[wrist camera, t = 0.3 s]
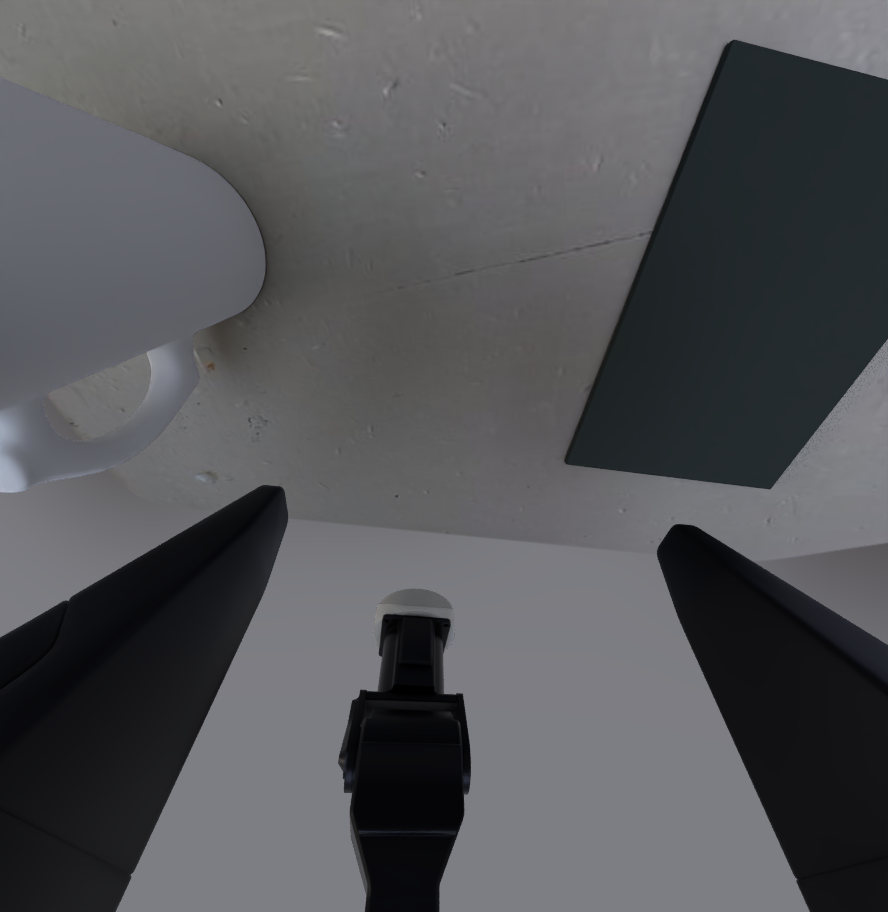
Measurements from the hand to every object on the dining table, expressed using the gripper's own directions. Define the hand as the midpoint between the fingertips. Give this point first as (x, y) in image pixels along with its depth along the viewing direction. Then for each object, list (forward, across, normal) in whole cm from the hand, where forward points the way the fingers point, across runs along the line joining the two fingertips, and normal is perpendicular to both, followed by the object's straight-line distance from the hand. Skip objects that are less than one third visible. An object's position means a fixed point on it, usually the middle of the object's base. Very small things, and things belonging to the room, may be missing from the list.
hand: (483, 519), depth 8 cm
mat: (+12, -15, -3) cm, 20 cm away
